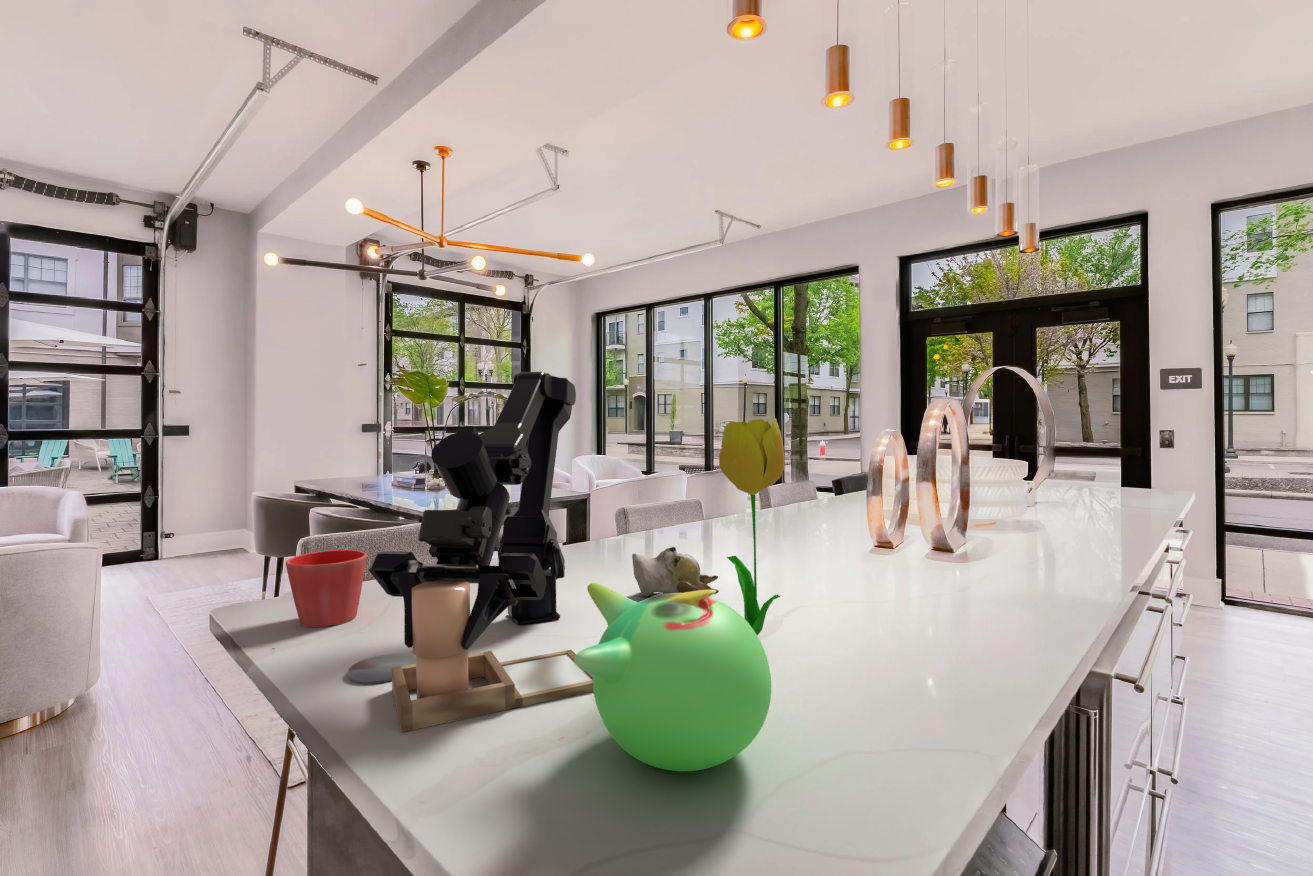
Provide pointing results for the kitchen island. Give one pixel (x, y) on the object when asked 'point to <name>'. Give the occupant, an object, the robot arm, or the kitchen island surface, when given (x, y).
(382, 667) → the slate saucer
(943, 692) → the kitchen island surface
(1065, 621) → the kitchen island surface
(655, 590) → the ceramic sculpture
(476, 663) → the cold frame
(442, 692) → the tan stacked cylinder
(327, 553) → the flower pot
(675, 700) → the green round bird toy
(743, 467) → the flower
